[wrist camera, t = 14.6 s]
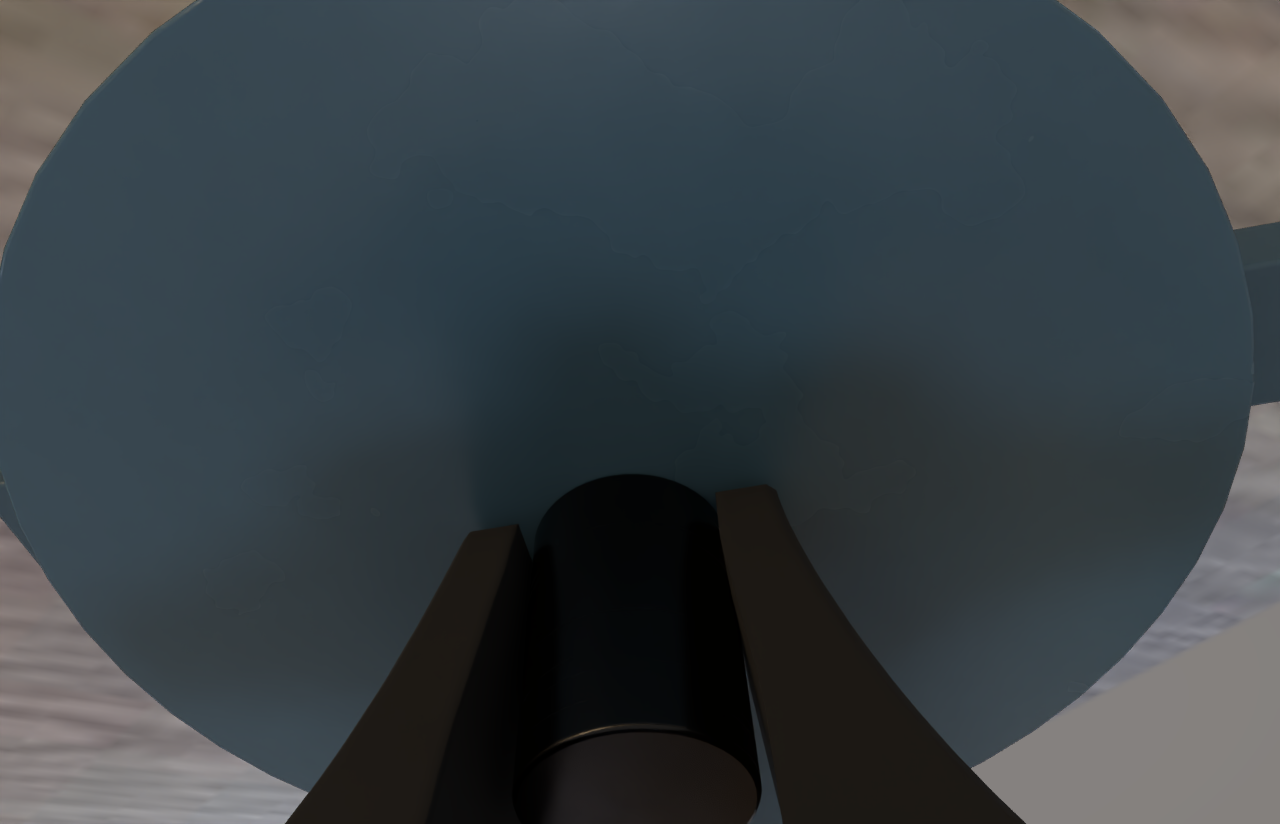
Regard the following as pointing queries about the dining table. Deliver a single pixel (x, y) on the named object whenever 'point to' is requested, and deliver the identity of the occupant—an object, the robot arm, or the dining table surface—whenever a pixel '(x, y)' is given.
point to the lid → (619, 363)
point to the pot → (1276, 290)
